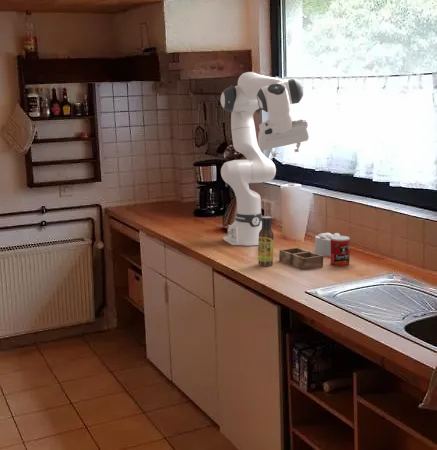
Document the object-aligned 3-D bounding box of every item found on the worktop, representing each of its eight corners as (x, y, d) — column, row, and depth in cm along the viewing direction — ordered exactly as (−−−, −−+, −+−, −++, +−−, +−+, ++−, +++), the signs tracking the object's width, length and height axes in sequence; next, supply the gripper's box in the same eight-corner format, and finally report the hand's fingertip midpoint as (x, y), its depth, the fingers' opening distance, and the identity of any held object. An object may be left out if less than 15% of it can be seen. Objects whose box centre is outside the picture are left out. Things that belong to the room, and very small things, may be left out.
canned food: (334, 266, 287) (334, 240, 285) (327, 262, 295) (327, 236, 292) (352, 265, 288) (352, 238, 286) (345, 261, 296) (345, 235, 294)
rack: (279, 260, 299) (279, 250, 298) (297, 257, 303) (297, 247, 302) (304, 269, 283) (304, 258, 282) (322, 266, 287) (323, 255, 287)
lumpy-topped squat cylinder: (330, 249, 318) (330, 230, 316) (349, 255, 307) (349, 235, 305) (311, 252, 313) (311, 232, 311) (330, 258, 302) (330, 238, 300)
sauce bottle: (255, 266, 291) (255, 217, 287) (261, 262, 297) (261, 215, 293) (270, 267, 288) (270, 218, 284) (276, 263, 294) (275, 216, 290)
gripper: (304, 114, 288) (308, 144, 296) (255, 125, 288) (259, 155, 295) (308, 121, 283) (312, 152, 291) (258, 132, 282) (262, 162, 290)
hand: (285, 153), depth 293 cm, fingers open, 8 cm apart
